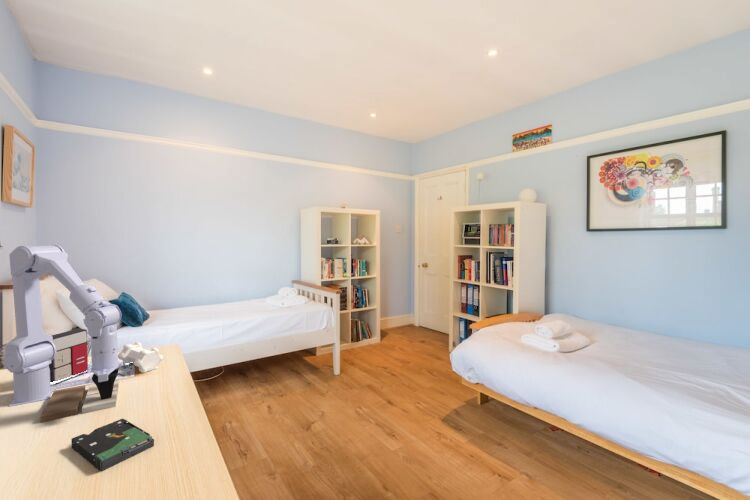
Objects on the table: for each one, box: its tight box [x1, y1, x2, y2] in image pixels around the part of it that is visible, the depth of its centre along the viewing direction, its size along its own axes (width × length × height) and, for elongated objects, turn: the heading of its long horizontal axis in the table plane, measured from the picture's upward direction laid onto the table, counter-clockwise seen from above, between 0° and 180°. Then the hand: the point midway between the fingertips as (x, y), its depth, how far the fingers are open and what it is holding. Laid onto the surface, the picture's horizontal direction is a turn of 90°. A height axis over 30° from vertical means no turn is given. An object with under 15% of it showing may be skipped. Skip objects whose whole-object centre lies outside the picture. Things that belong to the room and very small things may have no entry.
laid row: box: [39, 385, 86, 424], centre depth 95 cm, size 17×7×2 cm, turn 34°
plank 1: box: [86, 379, 120, 396], centre depth 103 cm, size 8×7×2 cm
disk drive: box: [71, 418, 155, 473], centre depth 77 cm, size 10×3×15 cm
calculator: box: [49, 328, 89, 382], centre depth 112 cm, size 11×4×15 cm, turn 168°
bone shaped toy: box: [118, 341, 164, 374], centre depth 122 cm, size 15×9×8 cm, turn 58°
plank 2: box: [81, 390, 118, 414], centre depth 96 cm, size 8×7×2 cm
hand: (106, 398), depth 96 cm, fingers closed, pressing on plank 2
